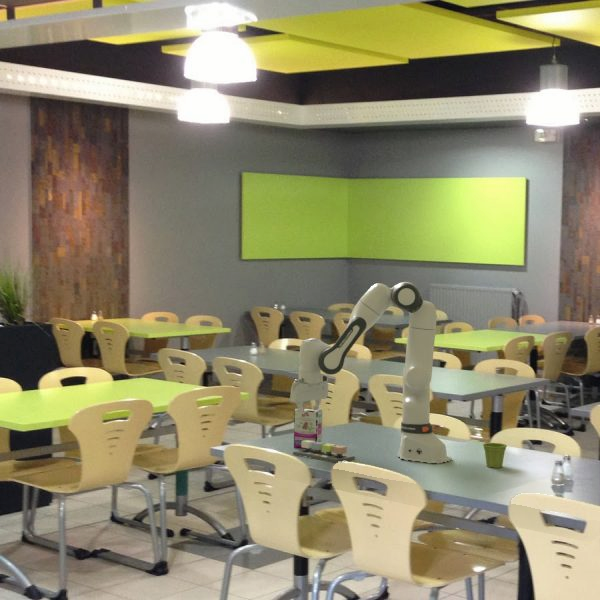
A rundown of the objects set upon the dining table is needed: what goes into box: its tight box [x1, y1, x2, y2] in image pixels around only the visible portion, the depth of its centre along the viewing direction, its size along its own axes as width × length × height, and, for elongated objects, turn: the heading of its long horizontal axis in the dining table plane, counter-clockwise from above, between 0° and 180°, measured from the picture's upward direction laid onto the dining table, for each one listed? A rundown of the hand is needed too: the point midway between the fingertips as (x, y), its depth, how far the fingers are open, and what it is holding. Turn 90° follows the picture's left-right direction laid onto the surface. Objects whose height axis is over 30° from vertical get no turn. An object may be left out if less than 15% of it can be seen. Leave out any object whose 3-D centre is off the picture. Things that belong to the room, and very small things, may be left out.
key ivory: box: [301, 440, 315, 450], centre depth 457 cm, size 4×4×4 cm
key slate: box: [312, 441, 327, 452], centre depth 454 cm, size 4×4×4 cm
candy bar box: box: [293, 407, 323, 449], centre depth 471 cm, size 11×5×16 cm, turn 62°
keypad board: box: [292, 448, 356, 464], centre depth 452 cm, size 23×11×2 cm, turn 49°
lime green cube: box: [322, 443, 337, 454], centre depth 450 cm, size 4×4×4 cm
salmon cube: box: [333, 444, 348, 456], centre depth 447 cm, size 4×4×4 cm
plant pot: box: [482, 442, 508, 469], centre depth 439 cm, size 9×9×9 cm
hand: (308, 411), depth 457 cm, fingers open, 8 cm apart
